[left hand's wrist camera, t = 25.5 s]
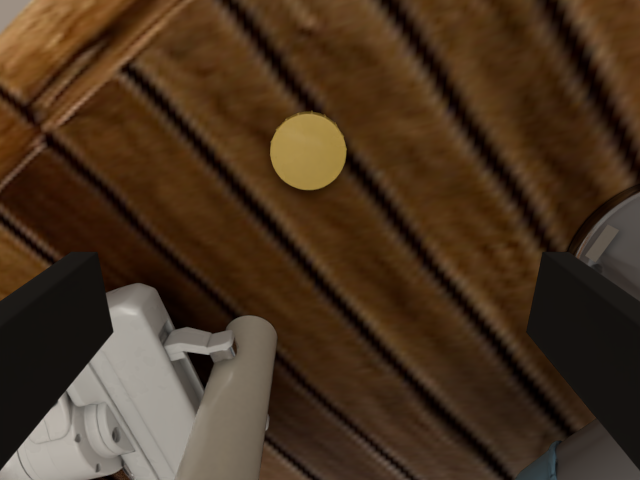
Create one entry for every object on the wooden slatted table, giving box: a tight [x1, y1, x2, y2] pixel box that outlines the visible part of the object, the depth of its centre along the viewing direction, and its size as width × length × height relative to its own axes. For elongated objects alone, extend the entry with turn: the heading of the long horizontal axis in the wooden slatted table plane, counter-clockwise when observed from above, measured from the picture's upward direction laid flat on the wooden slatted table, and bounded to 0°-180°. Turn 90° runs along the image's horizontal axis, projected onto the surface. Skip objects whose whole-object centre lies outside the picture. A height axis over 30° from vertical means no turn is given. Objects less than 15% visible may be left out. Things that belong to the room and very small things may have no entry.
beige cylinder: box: [174, 316, 277, 480], centre depth 31 cm, size 5×5×19 cm
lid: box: [270, 111, 347, 190], centre depth 32 cm, size 6×6×2 cm
